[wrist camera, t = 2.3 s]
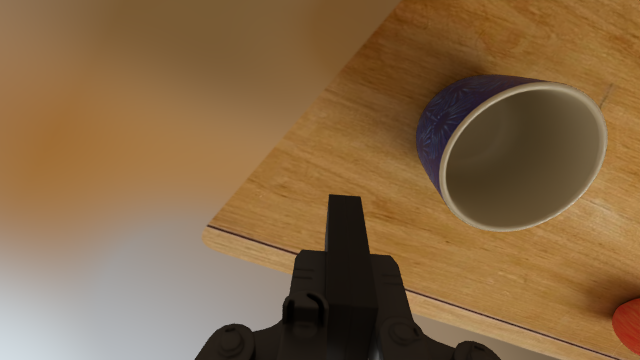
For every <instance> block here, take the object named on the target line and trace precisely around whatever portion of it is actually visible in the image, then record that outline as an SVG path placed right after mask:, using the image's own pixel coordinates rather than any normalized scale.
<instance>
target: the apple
mask: <svg viewBox="0 0 640 360" xmlns="http://www.w3.org/2000/svg"><path fill="white" fill-rule="evenodd" d="M612 325H613V329H614V331H615V333H616V335H617V336H618V338H619V339H620V341H621V342H622V343H623V344H624V345H625V346H626V347H627V348H628V349H630V350H631V351H633V352H634V353H636V354H638V355H639V356H640V299H634V300H631V301H629V302H626V303H624V304H622V305H620V306H619V307H618V308H617V309H616V311H615V312H614V315H613V318H612Z"/></svg>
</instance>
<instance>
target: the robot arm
mask: <svg viewBox="0 0 640 360" xmlns="http://www.w3.org/2000/svg"><path fill="white" fill-rule="evenodd" d="M282 315H283V316H282V320H280V321H279V322H278V323H277V324H275V325H274V326H272V327H269V328H266V329H263V330H259V331H255V332H252V331H251V330H250V328H248V327H246V326H244V325H242V324H230V325H225V326H223V327H222V328H220V329H218V330H216V331H215V332H214V333H213V335H212V336H211V337H210V338H209V339H208V341H207V342H206V344H205V345H204V346H203V348H202V349H201V351H200V352H199V354H198V355H197V357H196V358H195V360H501V359H500V358H499V357H498V356H497V355H496V354H495V353H494V352H493V351H492V350H490V349H489V348H488V347H486V346H485V345H483V344H480V343H477V342H474V341H464V342H461V343H459V344H458V345H457V347H456V348H453V347H450V346H448V345H445V344H443V343H440V342H437V341H435V340H433V339H431V338H429V337H428V336H426V335H425V334H424V333H423V332H422V330H421V328H420V327H419V326H418V325H417V324H416V323H415V322H414V320H413V318H412V314H411V310H410V307H409V303H408V299H407V296H406V292H405V288H404V286H403V281H402V278H401V274H400V270H399V267H398V264H397V263H396V262H395V261H394V259H393V258H392V257H391V256H390V255H377V254H370V251H369V245H368V239H367V233H366V227H365V221H364V214H363V208H362V202H361V197H359V196H346V195H333V194H329V201H328V212H327V224H326V235H325V251H314V250H301V251H300V253H299V254H298V255H297V256H296V258H295V263H294V270H293V275H292V281H291V288H290V294H289V296H287V297H286V298H285V301H284V303H283V314H282Z"/></svg>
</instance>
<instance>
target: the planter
mask: <svg viewBox="0 0 640 360" xmlns="http://www.w3.org/2000/svg"><path fill="white" fill-rule="evenodd" d="M607 136H608V135H607V127H606V123H605V119H604V117H603V114H602V112H601V110H600V109H599V107H598V105H597V104H596V103H595V102H594V101H593V99H591V98H590V97H589V96H588V95H587V94H585V93H584V92H582V91H581V90H579V89H577V88H575V87H572V86H569V85H566V84H563V83H557V82H550V81H544V80H537V79H531V78H523V77H516V76H507V75H478V76H472V77H468V78H464V79H462V80H459V81H457V82H455V83H452V84H451V85H449V86H447V87H446V88H444V89H443V90H441V91H440V92H439V93H438V94H437V95H436V96H435V97H434V98H433V99H432V100H431V101H430V102H429V104H428V105H427V106H426V108H425V109H424V111H423V113H422V115H421V117H420V120H419V123H418V127H417V132H416V145H417V151H418V155H419V158H420V160H421V163H422V165H423V167H424V169H425V171H426V173H427V174H428V176H429V178H430V180H431V181H432V183H433V184H434V186H435V188H436V189H437V191H438V192H439V194H440V195H441V197H442V198H443V200H444V201H445V203H446V205H447V206H448V208H449V209H450V210H451V211H452V212H453V213H454V215H456V216H457V217H458V218H459V219H460V220H462V221H463V222H465V223H467V224H469V225H471V226H473V227H476V228H479V229H483V230H488V231H497V232H508V231H517V230H522V229H526V228H530V227H533V226H536V225H539V224H541V223H543V222H546V221H548V220H550V219H552V218H553V217H555V216H557V215H559V214H560V213H562V212H563V211H565V210H566V209H567V208H569V207H570V206H571V205H572V204H573V203H575V202H576V201H577V200H578V199H579V198H580V197H581V196H582V195H583V194H584V193H585V191H586V190H587V189H588V188H589V186H590V185H591V184H592V182H593V181H594V179H595V178H596V176H597V174H598V172H599V170H600V168H601V166H602V163H603V161H604V158H605V154H606V149H607Z"/></svg>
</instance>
